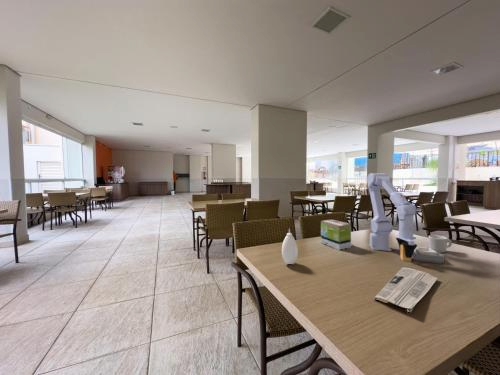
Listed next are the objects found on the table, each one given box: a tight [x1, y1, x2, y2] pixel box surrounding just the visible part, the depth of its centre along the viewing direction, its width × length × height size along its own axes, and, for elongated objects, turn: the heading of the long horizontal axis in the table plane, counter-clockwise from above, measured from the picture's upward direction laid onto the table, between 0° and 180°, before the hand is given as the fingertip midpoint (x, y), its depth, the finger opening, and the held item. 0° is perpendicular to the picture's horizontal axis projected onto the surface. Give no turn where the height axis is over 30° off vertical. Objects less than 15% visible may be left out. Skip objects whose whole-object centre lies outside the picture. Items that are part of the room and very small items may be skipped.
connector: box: [399, 245, 412, 262], centre depth 105 cm, size 4×4×8 cm
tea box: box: [320, 218, 352, 251], centre depth 128 cm, size 15×10×15 cm, turn 25°
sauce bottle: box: [281, 228, 299, 265], centre depth 102 cm, size 8×8×18 cm
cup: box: [427, 234, 453, 254], centre depth 114 cm, size 11×8×8 cm
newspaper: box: [374, 267, 438, 314], centre depth 77 cm, size 35×12×4 cm, turn 131°
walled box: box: [411, 246, 445, 264], centre depth 106 cm, size 11×11×4 cm
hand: (405, 254), depth 105 cm, fingers open, 7 cm apart
